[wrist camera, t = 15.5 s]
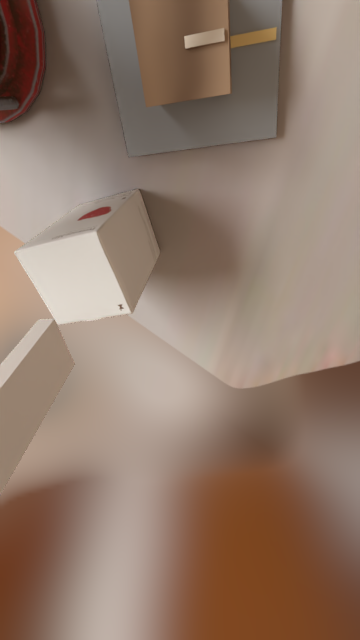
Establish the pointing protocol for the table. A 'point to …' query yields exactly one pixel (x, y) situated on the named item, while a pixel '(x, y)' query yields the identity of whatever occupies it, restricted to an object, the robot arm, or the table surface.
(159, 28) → the brown cardboard crate
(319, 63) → the table surface
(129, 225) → the supplement box
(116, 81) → the plate
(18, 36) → the hourglass
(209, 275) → the table surface
